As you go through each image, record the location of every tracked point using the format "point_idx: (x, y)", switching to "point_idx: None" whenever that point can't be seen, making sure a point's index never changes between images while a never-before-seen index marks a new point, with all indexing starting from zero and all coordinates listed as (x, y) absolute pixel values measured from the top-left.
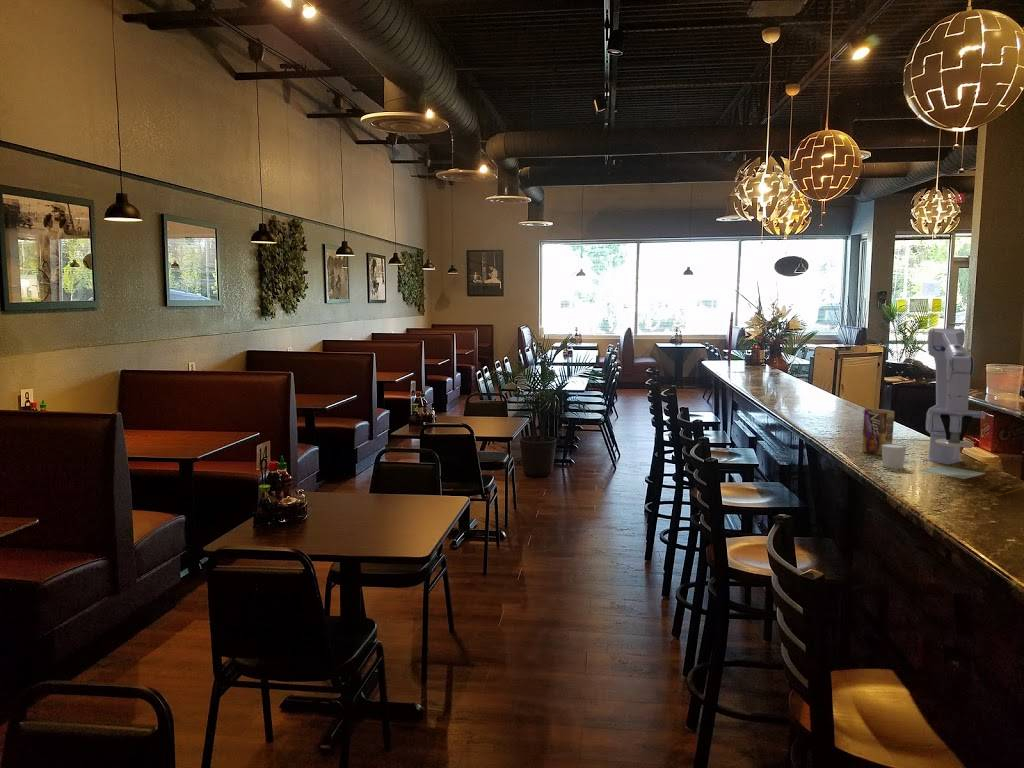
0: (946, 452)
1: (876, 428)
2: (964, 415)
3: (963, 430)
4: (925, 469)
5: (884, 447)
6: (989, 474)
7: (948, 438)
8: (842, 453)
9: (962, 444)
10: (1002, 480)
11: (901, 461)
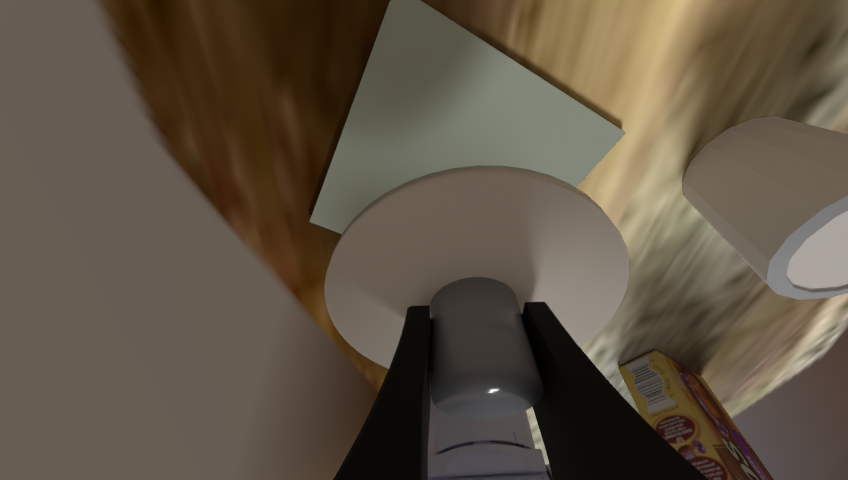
0: None
1: (748, 472)
2: None
3: (406, 407)
4: (579, 173)
5: None
6: (297, 232)
7: (537, 312)
8: (808, 333)
9: (412, 233)
10: (211, 123)
11: (751, 155)
